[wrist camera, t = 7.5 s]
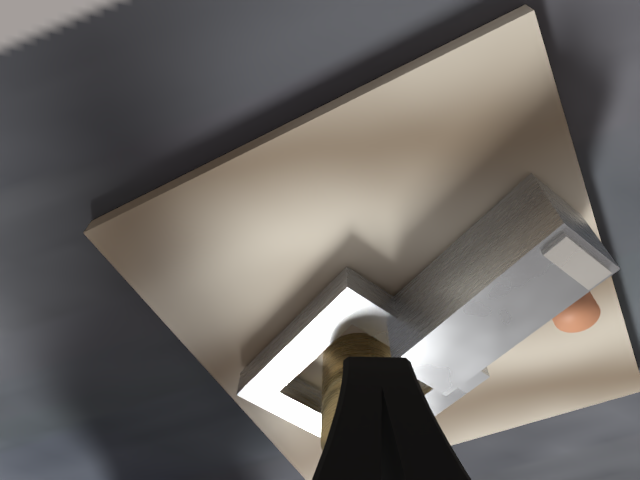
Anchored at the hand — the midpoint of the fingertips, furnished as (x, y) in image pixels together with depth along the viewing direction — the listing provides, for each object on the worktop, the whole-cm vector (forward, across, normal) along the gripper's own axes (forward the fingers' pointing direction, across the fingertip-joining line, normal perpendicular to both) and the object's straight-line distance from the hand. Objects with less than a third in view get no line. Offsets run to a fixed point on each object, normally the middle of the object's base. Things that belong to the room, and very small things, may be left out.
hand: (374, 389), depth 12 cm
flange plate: (+8, -2, +5) cm, 9 cm away
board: (+9, -1, +5) cm, 10 cm away
